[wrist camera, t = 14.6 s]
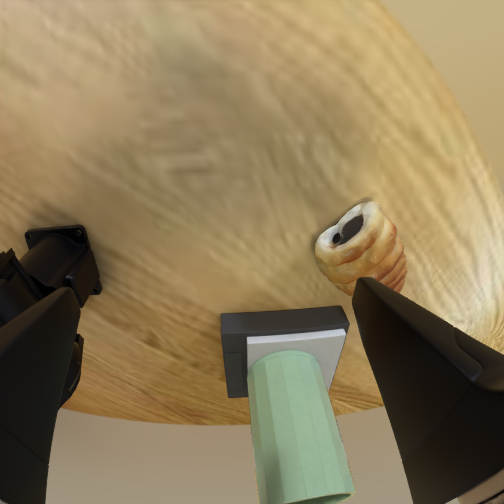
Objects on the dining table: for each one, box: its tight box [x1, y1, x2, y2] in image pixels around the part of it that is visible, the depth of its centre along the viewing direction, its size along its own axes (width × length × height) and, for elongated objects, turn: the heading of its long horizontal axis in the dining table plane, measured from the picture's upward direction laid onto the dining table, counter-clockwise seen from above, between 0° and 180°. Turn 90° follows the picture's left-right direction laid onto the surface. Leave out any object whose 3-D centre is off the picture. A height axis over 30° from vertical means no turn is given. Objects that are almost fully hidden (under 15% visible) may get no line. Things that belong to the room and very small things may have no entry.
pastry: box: [315, 202, 407, 296], centre depth 22 cm, size 9×7×4 cm
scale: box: [221, 306, 350, 398], centre depth 27 cm, size 11×10×3 cm
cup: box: [247, 350, 356, 504], centre depth 20 cm, size 7×7×13 cm
